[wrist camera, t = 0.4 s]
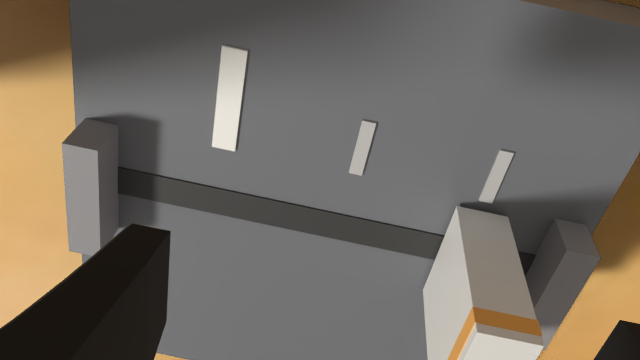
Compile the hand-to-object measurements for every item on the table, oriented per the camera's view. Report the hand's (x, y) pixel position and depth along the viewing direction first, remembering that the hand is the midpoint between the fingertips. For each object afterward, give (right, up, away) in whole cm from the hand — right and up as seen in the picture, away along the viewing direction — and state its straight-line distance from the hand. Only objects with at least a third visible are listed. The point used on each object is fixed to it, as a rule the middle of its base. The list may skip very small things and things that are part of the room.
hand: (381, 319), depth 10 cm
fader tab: (+4, 0, +9) cm, 10 cm away
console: (-1, +2, +11) cm, 11 cm away
